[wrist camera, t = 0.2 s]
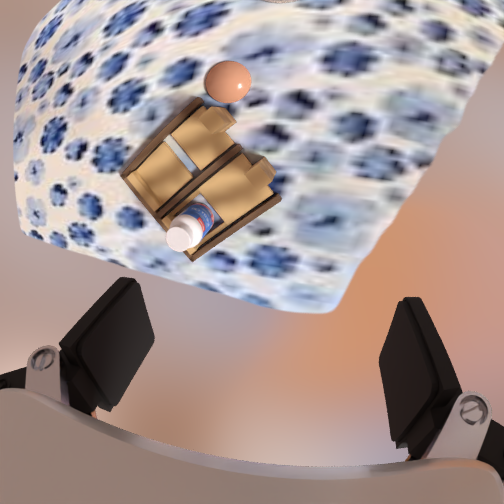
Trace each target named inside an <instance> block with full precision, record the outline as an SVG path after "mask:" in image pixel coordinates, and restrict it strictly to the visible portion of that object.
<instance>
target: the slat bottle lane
mask: <svg viewBox="0 0 504 504" xmlns="http://www.w3.org/2000/svg"><path fill="white" fill-rule="evenodd" d="M275 174H276V171H275V169H274V168H273V167H272V165H271V164H270V163H269V162H268V160H267V159H266V158H265V157H263V158H262V159H261V160H259V161H258V162H257V163H255V164H254V165H252V164H251V163H250V162H249V160H248V159H247V158H246V157H245V155H244V154H243V153H242V154H241V155H239V156H238V157H237V158H236V159H234V160H233V161H232V162H230V163H229V164H228V165H227V166H225V167H224V168H223V169H222V170H220V171H219V172H218V173H217V174H215V175H214V176H213V177H212V178H210V179H209V180H208V181H207V182H206V183H204V184H203V185H202V186H201V187H200V188H198V189H197V190H196V191H195V192H194V193H192V194H191V195H190V196H189V197H188V198H187V199H185V200H184V201H183V202H182V203H181V204H180V205H178V206H177V207H176V208H175V209H174V210H173V211H172V212H170V213H169V214H168V215H167V216H166V217H165V218H163V219H162V220H161V221H162V222H163V223H164V224H165V226H166V227H167V228H168V229H169V228H170V224H171V222H172V221H173V220H174V219H175V218H176V217H177V216H176V215H175V214H176V213H177V212H178V211H180V210H181V209H182V208H183V207H184V206H185V205H187V204H188V203H189V202H190V201H191V200H193V199H194V198H195V197H196V196H197V195H199V194H200V193H201V194H202V195H203V196H204V197H205V199H206V200H207V201H208V202H209V203H210V205H211V206H212V207H213V208H214V209H215V211H216V212H217V213H218V214H219V216H220V217H221V218H222V219H223V220H224V222H223V223H222V224H220V225H219V226H218V227H216V228H215V229H214V230H212V231H211V232H210V233H208V234H207V235H205V236H204V237H203V239H202V240H201V241H200V242H199V243H198V244H197V245H196V246H194V247H192V248H188V249H187V251H188V253H189V254H190V255H191V254H192V253H193V252H195V251H196V250H197V249H198V247H199V246H200V245H202V244H203V243H205V242H206V241H207V240H209V239H210V238H211V237H213V236H214V235H216V234H217V233H218V232H220V231H221V230H223V229H224V228H225V227H227V226H228V225H230V224H231V223H232V222H234V221H235V220H237V219H238V218H239V217H241V216H242V215H244V214H245V213H247V212H248V211H249V210H251V209H252V208H254V207H255V206H257V205H258V204H259V203H261V202H262V201H264V200H265V199H267V198H268V197H270V196H271V195H272V194H273V193H274V192H273V191H272V190H271V189H270V187H269V186H268V184H269V183H270V182H272V180H273V178H274V176H275Z"/></svg>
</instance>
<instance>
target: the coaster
mask: <svg viewBox="0 0 504 504" xmlns="http://www.w3.org/2000/svg"><path fill="white" fill-rule="evenodd" d="M250 86H251V76H250V73H249V72H248V70H247V69H246V68H245V67H244V66H243V65H241V64H240V63H237V62H234V61H226V62H222V63H219V64H217V65H216V66H214V67H213V68H212V69H211V70H210V72H209V73H208V75H207V78H206V88H207V91H208V93H209V94H210V96H211V97H212V98H214V99H215V100H217V101H219V102H223V103H233V102H236V101H238V100H240V99H242V98H243V97H244V96H245V95H246V94H247V93H248V91H249V89H250Z"/></svg>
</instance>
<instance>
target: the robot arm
mask: <svg viewBox="0 0 504 504" xmlns="http://www.w3.org/2000/svg"><path fill="white" fill-rule="evenodd" d="M264 1H268V2H274V3H289V2H295V1H298V0H264ZM154 339H155V338H154V333H153V329H152V326H151V323H150V319H149V316H148V312H147V310H146V306H145V302H144V298H143V295H142V291H141V287H140V284H139V283H137V281H136V280H135V279H134V278H127V277H120V278H119V279H118V280H117V281H116V282H115V283H114V284H113V285H112V286H111V287H110V288H109V289H108V290H107V291H106V292H105V293H104V294H103V295H102V296H101V297H100V298H99V299H98V300H97V301H96V302H95V303H94V305H93V306H92V307H91V308H90V309H89V310H88V311H87V312H86V313H85V314H84V315H83V316H82V318H81V319H80V320H79V321H78V322H77V323H76V324H75V325H74V326H73V328H72V329H71V330H70V331H69V332H68V333H67V334H66V336H65V337H64V338H63V339H62V340H61V341H60V342H59V345H60V347H61V350H60V352H59V351H58V350H57V348H55V347H54V346H49V345H48V346H43V347H40V348H38V349H37V350H35V351H34V352H33V353H32V354H31V355H30V357H29V359H28V362H27V367H24V368H21V369H18V370H14V371H11V372H8V373H4V374H2V375H0V504H504V427H503V426H502V425H500V424H499V423H497V422H495V421H494V420H492V419H491V416H492V409H491V405H490V403H489V401H488V400H487V399H486V397H484V396H483V395H482V394H480V393H478V392H475V391H468V392H464V393H463V392H462V389H461V387H460V384H459V381H458V378H457V376H456V373H455V371H454V368H453V366H452V363H451V361H450V358H449V356H448V354H447V351H446V349H445V347H444V345H443V342H442V340H441V338H440V336H439V334H438V332H437V330H436V328H435V326H434V323H433V322H432V319H431V317H430V315H429V314H428V311H427V309H426V307H425V305H424V303H423V301H422V299H421V298H419V297H405V298H404V299H403V301H399V302H398V305H397V308H396V311H395V314H394V317H393V320H392V323H391V326H390V329H389V332H388V335H387V337H386V340H385V343H384V346H383V348H382V351H381V353H380V357H379V367H380V372H381V377H382V383H383V388H384V394H385V400H386V406H387V413H388V419H389V427H390V435H391V439H392V441H396V449H398V448H406V447H408V453H409V456H408V458H407V459H406V460H405V462H396V463H388V464H377V465H363V466H342V467H309V466H288V465H276V464H266V463H256V462H249V461H241V460H236V459H229V458H224V457H219V456H213V455H209V454H204V453H199V452H195V451H190V450H187V449H183V448H179V447H175V446H172V445H168V444H165V443H161V442H158V441H155V440H152V439H149V438H145V437H142V436H139V435H137V434H134V433H131V432H128V431H126V430H123V429H120V428H118V427H115V426H112V425H110V424H108V423H105V422H103V421H100V420H98V419H97V416H96V411H95V409H96V407H97V405H98V407H99V408H101V409H104V410H106V411H109V412H111V410H112V408H113V406H116V405H117V404H118V403H119V401H120V400H121V398H122V396H123V394H124V392H125V391H126V389H127V387H128V386H129V384H130V382H131V380H132V379H133V377H134V375H135V374H136V372H137V370H138V368H139V367H140V365H141V363H142V362H143V360H144V358H145V357H146V355H147V353H148V352H149V350H150V348H151V346H152V345H153V343H154Z"/></svg>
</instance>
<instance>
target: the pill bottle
mask: <svg viewBox="0 0 504 504" xmlns="http://www.w3.org/2000/svg"><path fill="white" fill-rule="evenodd" d="M213 223H214V215H213V213H212V211H211V209H210V208H209V207H208V206H206V205H204V204H200V203H196V204H193V205H191V206H189V207H188V208H187V209H186V210H184V211H183V212H182V213H181V214H179V215H178V216H177V217H176V218H175V219H174V220H173V221H172V222H171V224H170V228H169V230H168V231H167V233H166V241H167V244H168V245H169V247H170V248H172V249H173V250H175V251H178V252H182V251H185V250H187V249H188V248H192V247H194V246H196V245H197V244H198V243H199V242H200V241H201V240H202V239H203V237H204V236H205V235H206V234H207V232H208V231H209V230H210V229H211V227H212V226H213Z"/></svg>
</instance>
